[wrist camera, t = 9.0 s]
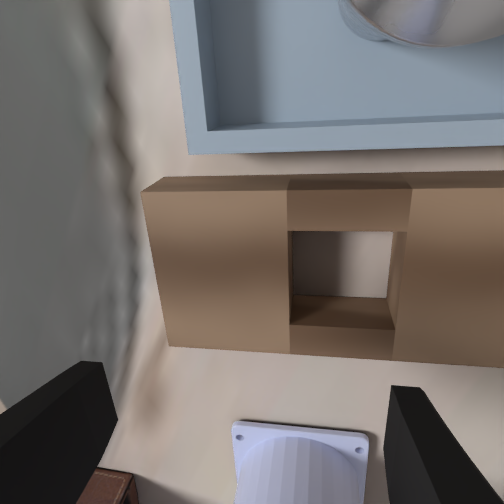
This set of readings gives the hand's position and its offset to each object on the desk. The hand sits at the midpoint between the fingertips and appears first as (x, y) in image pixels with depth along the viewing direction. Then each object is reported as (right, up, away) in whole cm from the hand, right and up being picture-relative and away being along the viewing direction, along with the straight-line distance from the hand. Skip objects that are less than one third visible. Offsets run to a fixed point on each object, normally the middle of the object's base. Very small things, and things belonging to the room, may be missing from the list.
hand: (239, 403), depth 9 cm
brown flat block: (+4, +4, +8) cm, 10 cm away
